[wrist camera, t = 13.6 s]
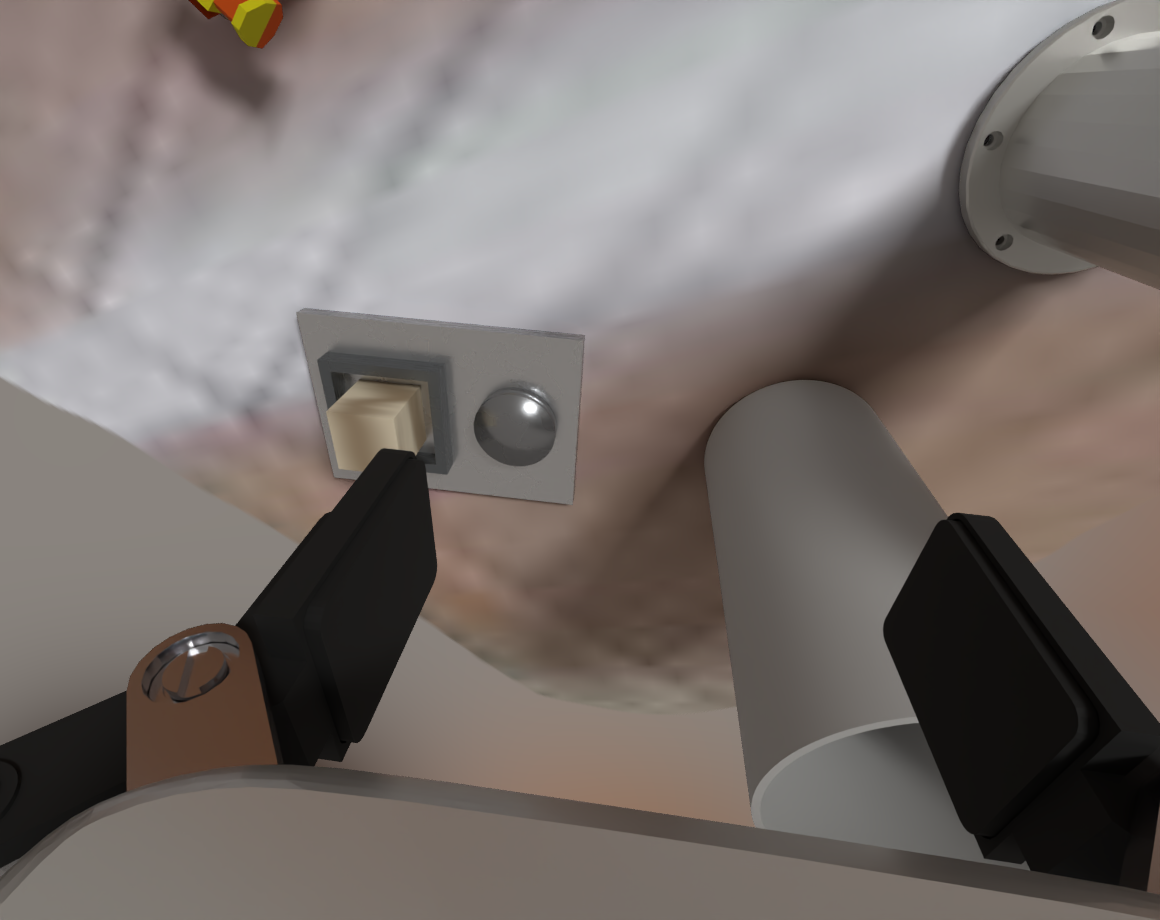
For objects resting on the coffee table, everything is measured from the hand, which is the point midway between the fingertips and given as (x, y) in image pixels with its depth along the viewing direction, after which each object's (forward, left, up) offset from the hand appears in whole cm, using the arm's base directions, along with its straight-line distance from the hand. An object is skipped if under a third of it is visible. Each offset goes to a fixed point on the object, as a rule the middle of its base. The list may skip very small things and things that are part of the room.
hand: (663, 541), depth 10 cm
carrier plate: (+14, +14, -28) cm, 34 cm away
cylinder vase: (-12, +15, -28) cm, 34 cm away
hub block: (+18, +14, -27) cm, 35 cm away
